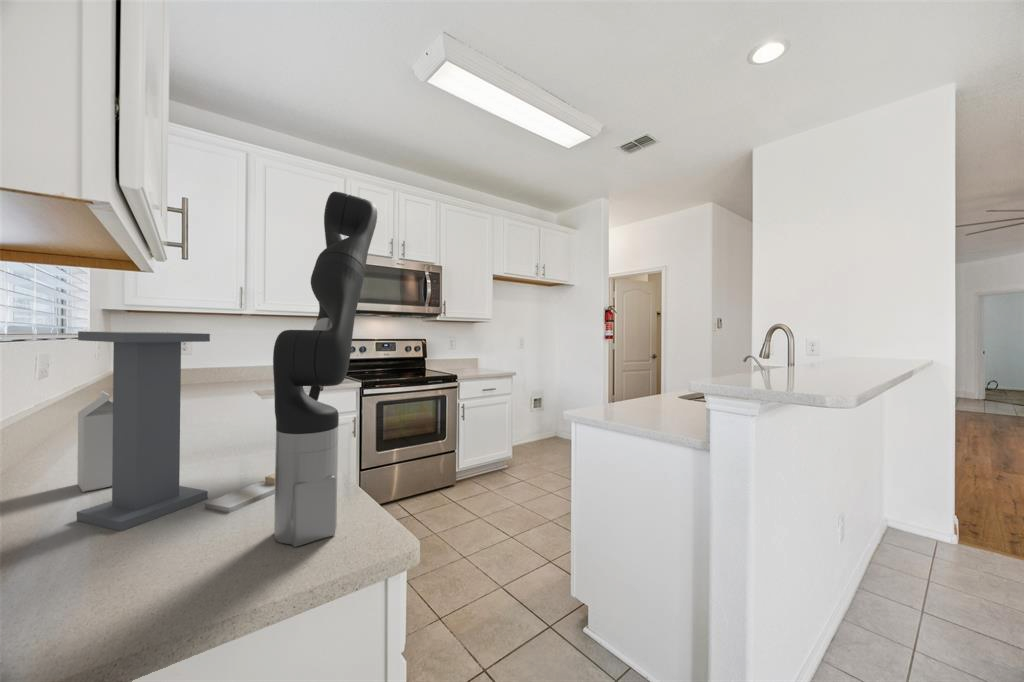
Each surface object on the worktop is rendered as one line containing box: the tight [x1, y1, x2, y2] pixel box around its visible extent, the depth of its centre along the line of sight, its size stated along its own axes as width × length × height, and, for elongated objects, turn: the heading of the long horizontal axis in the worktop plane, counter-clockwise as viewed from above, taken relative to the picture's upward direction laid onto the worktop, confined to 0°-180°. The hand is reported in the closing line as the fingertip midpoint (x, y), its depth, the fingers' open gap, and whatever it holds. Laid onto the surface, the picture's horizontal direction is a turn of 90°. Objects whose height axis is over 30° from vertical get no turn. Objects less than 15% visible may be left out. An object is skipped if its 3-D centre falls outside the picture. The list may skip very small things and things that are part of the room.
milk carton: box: [77, 390, 113, 493], centre depth 86 cm, size 7×7×19 cm
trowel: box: [204, 472, 275, 514], centre depth 85 cm, size 21×6×2 cm, turn 162°
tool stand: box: [76, 331, 211, 532], centre depth 74 cm, size 14×11×32 cm
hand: (311, 390), depth 97 cm, fingers open, 8 cm apart
